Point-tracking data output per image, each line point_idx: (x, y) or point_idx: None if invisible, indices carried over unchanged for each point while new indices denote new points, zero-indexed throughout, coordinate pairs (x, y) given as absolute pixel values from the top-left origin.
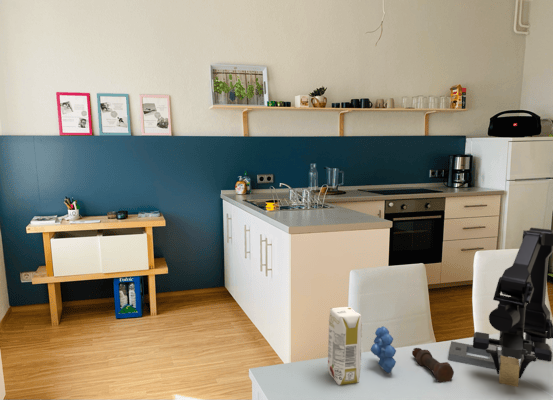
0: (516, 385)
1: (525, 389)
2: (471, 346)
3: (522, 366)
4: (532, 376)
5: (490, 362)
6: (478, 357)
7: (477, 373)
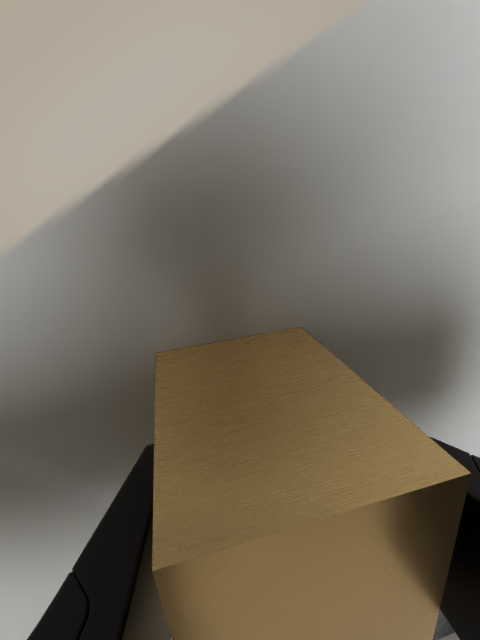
0: (169, 355)
1: (87, 346)
2: None
3: (108, 599)
4: None
5: None
6: None
7: (436, 378)
